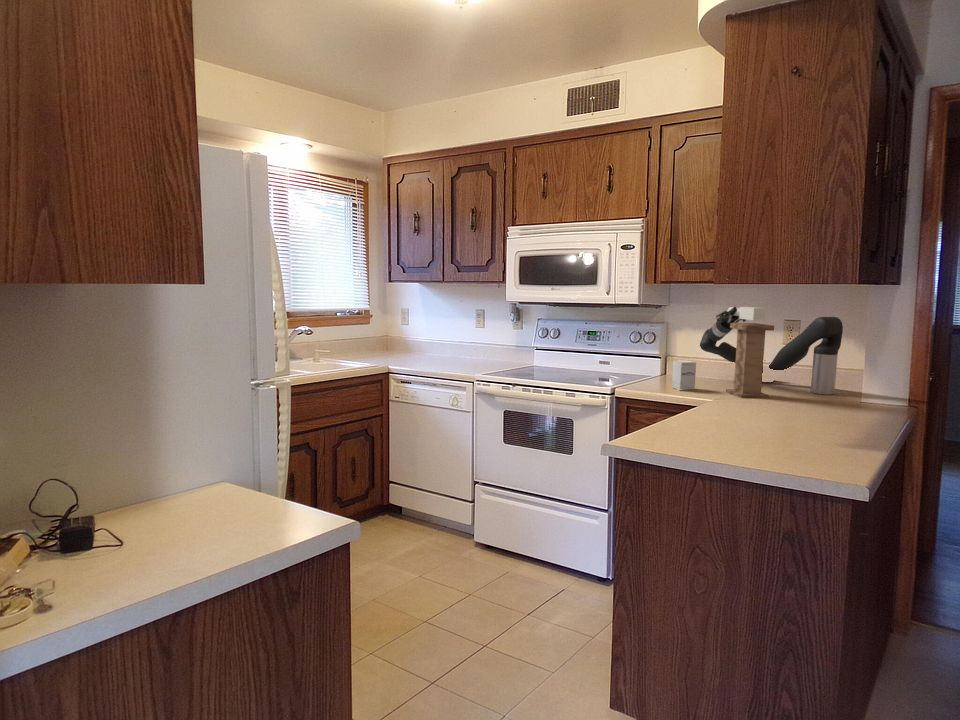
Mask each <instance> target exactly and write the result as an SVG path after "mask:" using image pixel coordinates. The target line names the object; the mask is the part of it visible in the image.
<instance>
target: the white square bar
mask: <svg viewBox="0 0 960 720" xmlns="http://www.w3.org/2000/svg"><path fill="white" fill-rule="evenodd" d="M734 307H735V306H734ZM734 307H733V306H730V307H728V308H727V310H726V311H727V312H728V311H729V310H731V309H732V308H734ZM736 308H737V311H736V312H735V314H734V315H733V316H739V319H746V321H753V322H754V321H761V322H762V321H763V322H764V321H766V309H767V308H765V307H757V306H756V307H754V306H739V307H736Z"/></svg>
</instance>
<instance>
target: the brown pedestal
mask: <svg viewBox="0 0 960 720" xmlns="http://www.w3.org/2000/svg"><path fill="white" fill-rule="evenodd" d="M730 328H733V329H734V330H735V329H737V333H736V334H737V335H736V347H735V348H736V361H735V363H734V364H735V366H734V375H733V377H734V379H733V389H730V388H729V389H725V393H727V394H730V395H732V396H735V397H737V396H738V398H740V397H741V398H740V399H769V398H770V395H769V394H767V393H766V392H765V393H764V392H762V387H763V386H762V385H763V384H762V373H763V360H764V357H765V343H766V342H765V340H766V331H775V325H771V324H765V323H757V322H754V323H753V322H737V323H730Z"/></svg>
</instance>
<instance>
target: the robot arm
mask: <svg viewBox="0 0 960 720" xmlns="http://www.w3.org/2000/svg"><path fill="white" fill-rule="evenodd" d="M737 308H738V307H736V306H734V308H732V309H731V310H729V311H728V312H727V310H724V311H722V312H721V313H719V314H717V315H715V318H716V321H715V322H714V323H713V325H712V326H711V327H710V328H707V329H705V331H704V332H703V335H702V337H701V340H700V343H699V347H700V349H701V350H702V351H704V352H706V353H710V354H713V355H717V356H719V357H721V358H723V359H724V360H727V361H728V362H730V363H733V362H734V364H735V361H736V347H735V346H733V345H732V344H730V343H729V342H727V341H723V342H721V343H720V344H719V345H718V346H717V342H719V341H721V340H722V339H724V337H725V336H727V335H728V334H729V333H730V332H732V330H734V328H730V323H740V321H742V323H746V321H747V320H746V319H739V316H733V315H734V314H735V312H736V311H737ZM843 330H844V327H843V321H842V320H841V319H840V318H839V317H837V316H819V317H816V318H815V319H814V320H813V321H811V323H809V325H808V326H807V327H806V328H805V329H803V331H801V333H799V334H798V335H796V336H795V337H794V338H793V339H792V340H791V341H788V342H787V343H786V344H785V345H784V346H783V347H781V349H779V351H778V352H777V354H776V355H775V356H774V358H773V359H772V361H771V362H770V363H771V364H770V365H769V368H770V369H773V370H784V369H787V368H789V367H790V368H792V367H793V366H795V365H796V364H797V363H799V362H801V360H803V359H804V358H805V357H806V356H807V355H808V352H809V351H810V348H811V346H813V345H814V344H815V343H817V342H818V341H819V340H821V342H820V343H819V344H817V345H815V346H814V348H813V360H812V368H811V369H812V371H811V385H810V393H812V394H816V395H827V396H828V395H834V394H835V392H836V391H835V390H836V380H837V379H836V378H837V367H838V355H839V350H840V348H841V344H842V339H843ZM790 368H789V369H790Z"/></svg>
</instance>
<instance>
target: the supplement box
mask: <svg viewBox="0 0 960 720" xmlns="http://www.w3.org/2000/svg"><path fill="white" fill-rule="evenodd" d="M672 362H673V364H672V365H673V366H672V377H671V378H672V380H671V388H672V387H674V388H677V389H695V388H696V387H695V386H696V370H697V362H696V361H693V360H683V359H681V360H679V359H678V360H675V359H674V360H673V361H672ZM674 388H673V389H674Z"/></svg>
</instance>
